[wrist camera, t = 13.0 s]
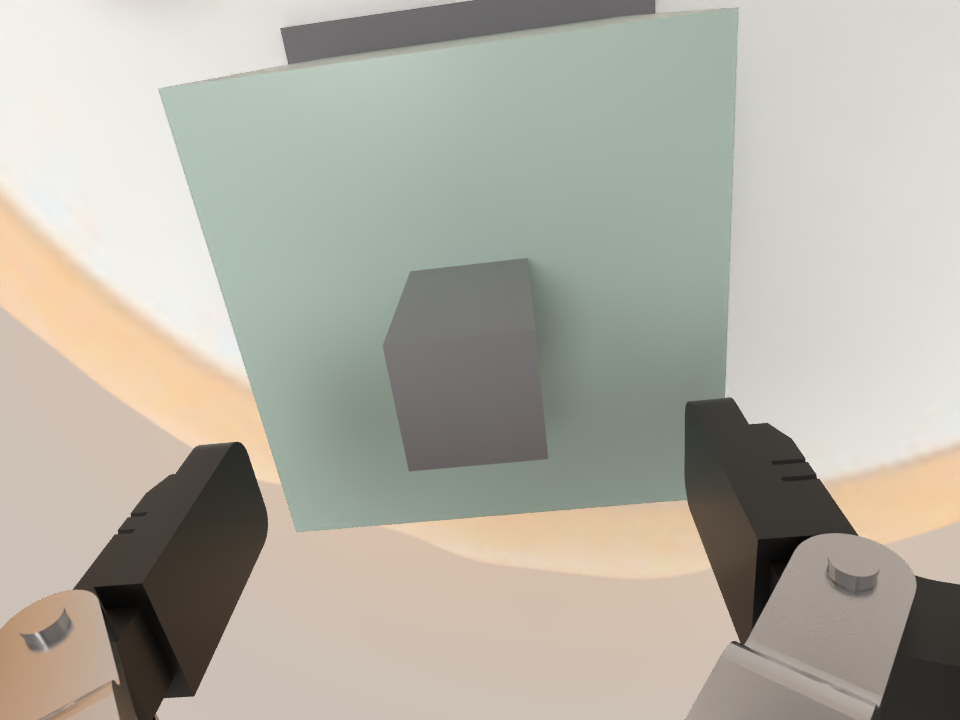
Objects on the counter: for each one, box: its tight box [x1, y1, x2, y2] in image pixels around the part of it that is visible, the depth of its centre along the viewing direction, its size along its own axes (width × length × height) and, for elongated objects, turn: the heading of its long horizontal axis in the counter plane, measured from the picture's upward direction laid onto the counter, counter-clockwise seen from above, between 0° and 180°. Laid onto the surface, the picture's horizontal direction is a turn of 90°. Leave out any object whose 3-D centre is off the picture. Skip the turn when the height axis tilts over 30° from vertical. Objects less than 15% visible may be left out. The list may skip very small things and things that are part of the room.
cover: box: [158, 7, 738, 532], centre depth 23 cm, size 13×13×20 cm
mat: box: [280, 0, 655, 64], centre depth 32 cm, size 16×16×1 cm
